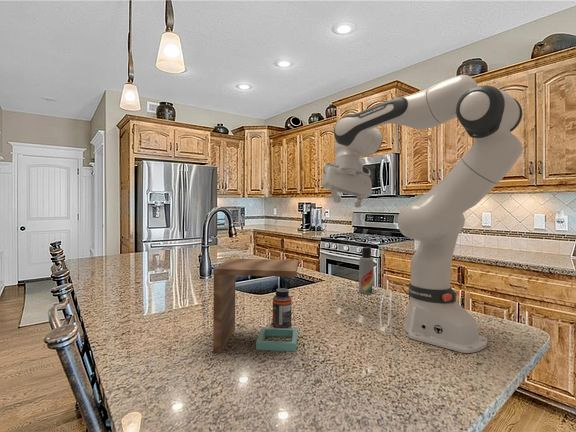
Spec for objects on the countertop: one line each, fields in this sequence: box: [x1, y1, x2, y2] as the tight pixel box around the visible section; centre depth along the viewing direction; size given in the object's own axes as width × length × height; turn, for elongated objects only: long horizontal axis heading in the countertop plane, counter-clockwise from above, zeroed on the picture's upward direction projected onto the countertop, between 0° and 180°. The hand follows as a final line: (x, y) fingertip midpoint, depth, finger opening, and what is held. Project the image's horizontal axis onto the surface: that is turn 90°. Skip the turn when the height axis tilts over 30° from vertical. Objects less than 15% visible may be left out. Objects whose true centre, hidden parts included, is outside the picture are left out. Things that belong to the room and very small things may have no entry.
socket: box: [255, 326, 299, 352], centre depth 93 cm, size 10×10×2 cm
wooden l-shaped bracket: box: [212, 257, 299, 354], centre depth 93 cm, size 21×16×22 cm
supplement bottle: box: [271, 287, 293, 328], centre depth 106 cm, size 6×6×11 cm
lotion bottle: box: [358, 246, 374, 295], centre depth 145 cm, size 6×6×20 cm
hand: (347, 204), depth 118 cm, fingers open, 8 cm apart
